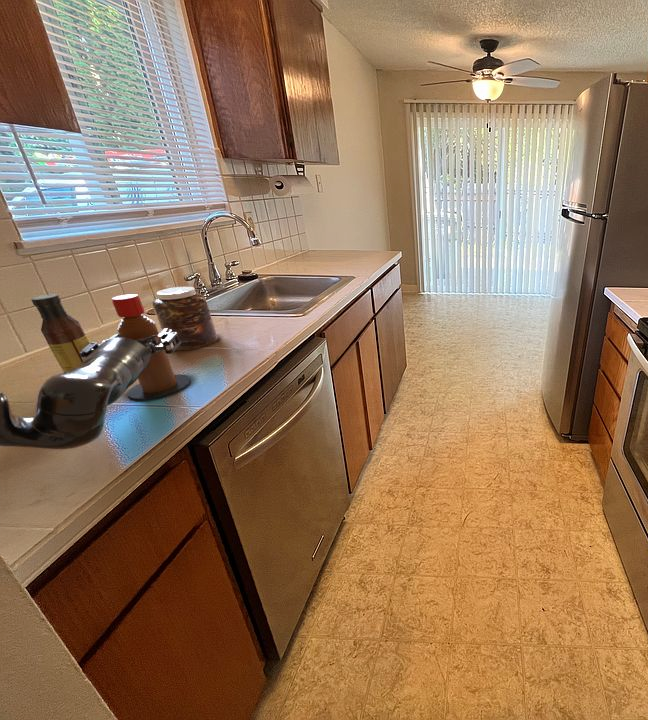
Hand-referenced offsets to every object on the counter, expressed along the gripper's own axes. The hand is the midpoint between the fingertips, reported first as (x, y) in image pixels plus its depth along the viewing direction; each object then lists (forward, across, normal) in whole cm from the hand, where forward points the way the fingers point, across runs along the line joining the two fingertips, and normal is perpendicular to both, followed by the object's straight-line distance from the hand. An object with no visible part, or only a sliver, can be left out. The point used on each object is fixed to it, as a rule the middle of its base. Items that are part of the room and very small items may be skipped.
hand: (144, 335), depth 84 cm
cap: (-2, 0, +5) cm, 6 cm away
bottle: (-2, 0, -11) cm, 11 cm away
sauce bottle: (+10, -16, -12) cm, 23 cm away
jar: (+27, +1, -12) cm, 29 cm away
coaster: (-2, 0, -12) cm, 12 cm away
